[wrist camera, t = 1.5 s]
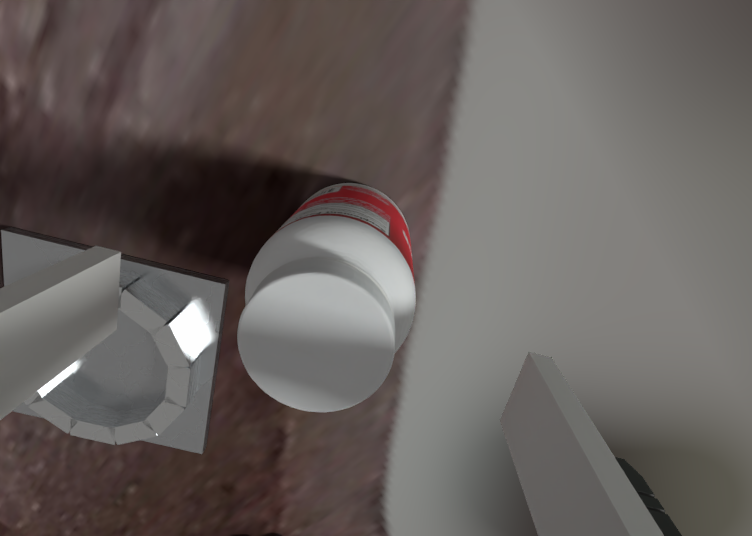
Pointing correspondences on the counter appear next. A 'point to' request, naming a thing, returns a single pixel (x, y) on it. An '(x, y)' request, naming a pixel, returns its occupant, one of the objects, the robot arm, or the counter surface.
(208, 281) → the duct flange
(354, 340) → the pill bottle
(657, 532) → the robot arm
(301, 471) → the counter surface
